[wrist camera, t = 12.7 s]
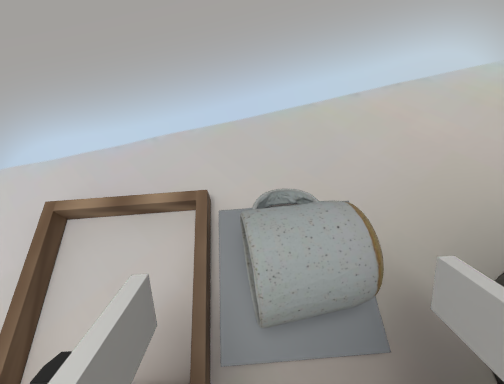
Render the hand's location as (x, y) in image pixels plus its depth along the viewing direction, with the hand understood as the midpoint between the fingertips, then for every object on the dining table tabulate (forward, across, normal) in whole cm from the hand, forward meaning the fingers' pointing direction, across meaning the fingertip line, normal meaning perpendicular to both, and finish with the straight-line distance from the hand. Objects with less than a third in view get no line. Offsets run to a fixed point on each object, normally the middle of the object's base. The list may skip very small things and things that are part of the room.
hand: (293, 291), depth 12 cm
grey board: (+10, +1, -5) cm, 11 cm away
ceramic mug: (+10, +1, -3) cm, 10 cm away
